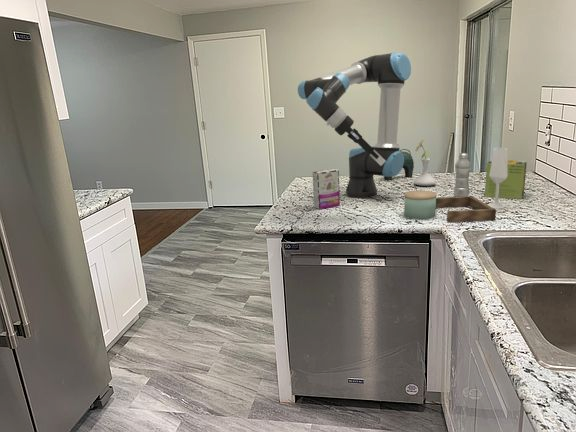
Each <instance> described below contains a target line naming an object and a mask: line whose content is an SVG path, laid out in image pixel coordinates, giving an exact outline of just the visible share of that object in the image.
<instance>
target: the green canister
mask: <svg viewBox="0 0 576 432" xmlns="http://www.w3.org/2000/svg"><path fill="white" fill-rule="evenodd" d="M403 195H404V200H403V201H404V206H403V207H404V209H403V210H404V211H403V212H404V213H403V215H404V217H405V218H409V219H412V220H430V219H433V218H436V209H437V208H436V198H437V193H436V192H434V191H430V190H411V191H410V190H409V191H406V192H404V194H403Z"/></svg>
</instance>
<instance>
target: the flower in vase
mask: <svg viewBox="0 0 576 432" xmlns="http://www.w3.org/2000/svg"><path fill="white" fill-rule="evenodd" d="M424 140H425V138H424V137H422V138H421V140H420V142H419V143H418V146H416V149H415V150H414V151H415V152H418V151H419V149H420V148H421V147H422V149H423V153H422V155H421V158H420V160H421V163H422V173H421V174H420V175H419V176H417V177H416V178H415V179H414V180H413V183H414V185H417V186H422V187H428V186H434V185H436V183H437V179H435V178H434V177H433V176H432V175H430V174H429V172H428V169H429V163H430V161H431V158H427V157H428V156H429V153H428V152H427V151H425V148H424V146H423V142H424Z"/></svg>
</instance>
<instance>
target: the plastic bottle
mask: <svg viewBox="0 0 576 432" xmlns="http://www.w3.org/2000/svg"><path fill="white" fill-rule="evenodd" d="M468 158H469V153H468V152H467V153H466V152H459V153H458V159H457V161H456V162H455V164H454V170H455V182H454V189H453V194H454V197H466V196H469V195H470V185H469V184H470V183H469V180H470V178H469V177H470V171H471V162H470V161H469V159H468Z"/></svg>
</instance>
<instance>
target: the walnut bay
mask: <svg viewBox="0 0 576 432" xmlns="http://www.w3.org/2000/svg"><path fill="white" fill-rule="evenodd" d="M488 205H489V204H487V203H485V202H483V201H481V200H480V199H478V198H476V197H474V196H473V195H470V196H469V195H468V196H466V197H456V196H451V197H449V196H448V197H446V196H445V197H436V209H439V208H441V209H443V208H465V207H467V208H468V207H470V208H471V209H464V210H463V209H461V210H459V209H457V210H447V213H446V222H447V223H459V222H462V223H463V222H464V223H465V222H478V221H479V222H481V221H482V222H483V221H484V222H485V221H496V218H497V217H496V216H497V209H496V208H492V207H490V206H488Z"/></svg>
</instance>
